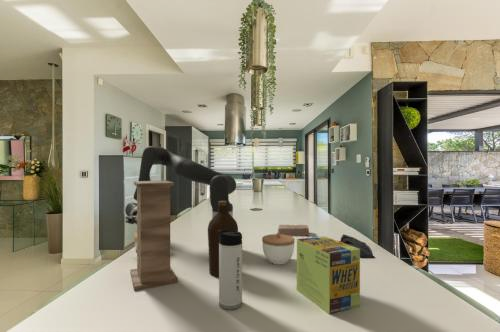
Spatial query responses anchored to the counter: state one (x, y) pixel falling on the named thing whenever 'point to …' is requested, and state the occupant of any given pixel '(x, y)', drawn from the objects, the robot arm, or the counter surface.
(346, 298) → the protein box
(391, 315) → the counter surface
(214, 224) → the olive oil
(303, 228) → the brick
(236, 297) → the travel mug
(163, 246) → the stand
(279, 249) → the lidded bowl
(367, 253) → the dark slate chunk
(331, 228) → the counter surface
